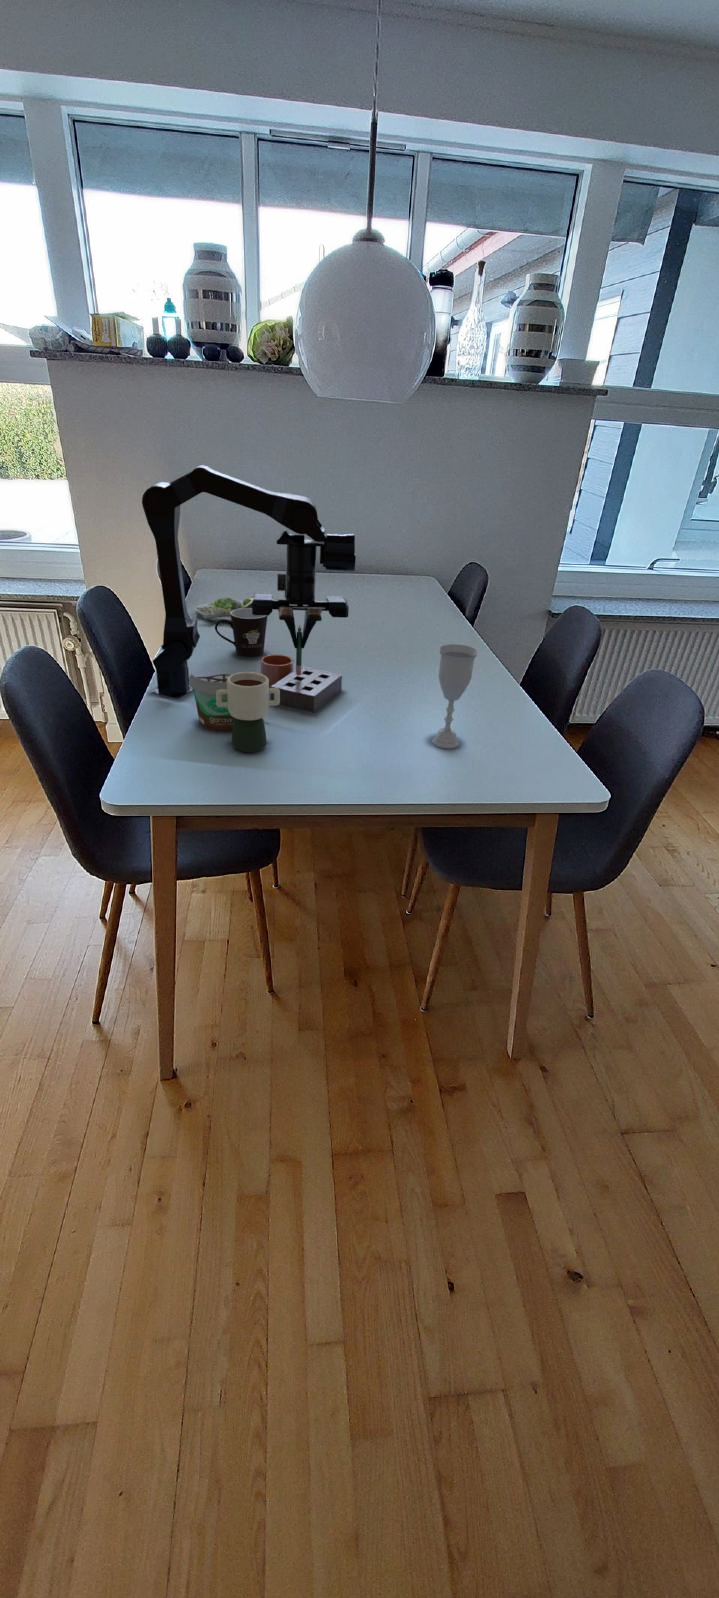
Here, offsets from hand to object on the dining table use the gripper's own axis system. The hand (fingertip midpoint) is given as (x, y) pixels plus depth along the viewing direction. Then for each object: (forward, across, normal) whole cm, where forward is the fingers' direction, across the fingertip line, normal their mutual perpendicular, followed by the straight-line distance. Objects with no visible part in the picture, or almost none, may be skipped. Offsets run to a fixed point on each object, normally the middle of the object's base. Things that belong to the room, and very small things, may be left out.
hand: (299, 647), depth 139 cm
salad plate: (+11, +15, -58) cm, 61 cm away
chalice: (+11, -27, +22) cm, 36 cm away
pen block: (+11, -2, +1) cm, 11 cm away
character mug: (+11, +10, +24) cm, 28 cm away
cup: (+11, +4, -8) cm, 14 cm away
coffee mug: (+11, +12, -26) cm, 30 cm away
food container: (+11, +14, +15) cm, 24 cm away
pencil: (+6, 0, 0) cm, 6 cm away
